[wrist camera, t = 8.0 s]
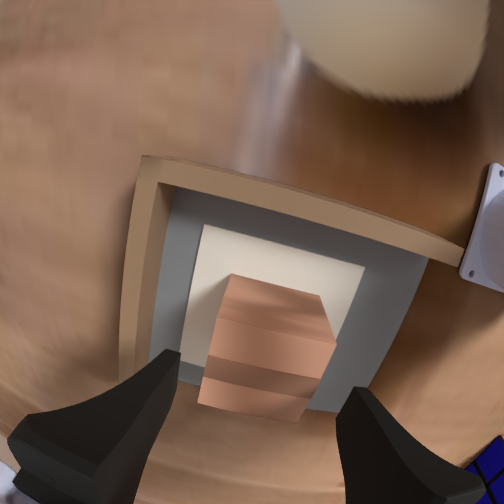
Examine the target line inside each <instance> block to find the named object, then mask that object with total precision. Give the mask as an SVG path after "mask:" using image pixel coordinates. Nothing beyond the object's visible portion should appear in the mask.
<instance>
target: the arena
mask: <svg viewBox="0 0 504 504" xmlns="http://www.w3.org/2000/svg"><path fill="white" fill-rule="evenodd" d="M463 252H464V249H463V248H461V247H459V246H457V245H455V244H453V243H451V242H449V241H447V240H445V239H443V238H441V237H439V236H437V235H435V234H433V233H431V232H428V231H426V230H423V229H420V228H418V227H415V226H412V225H410V224H407V223H404V222H401V221H399V220H396V219H393V218H390V217H387V216H384V215H381V214H378V213H376V212H373V211H370V210H367V209H364V208H361V207H358V206H354V205H351V204H348V203H345V202H342V201H339V200H336V199H332V198H329V197H326V196H323V195H319V194H316V193H312V192H309V191H306V190H302V189H299V188H295V187H292V186H288V185H285V184H281V183H277V182H274V181H270V180H266V179H262V178H259V177H255V176H251V175H247V174H243V173H239V172H235V171H231V170H227V169H223V168H218V167H214V166H210V165H205V164H201V163H196V162H192V161H187V160H183V159H178V158H173V157H168V156H149V155H142V158H141V162H140V167H139V172H138V177H137V182H136V188H135V193H134V199H133V205H132V211H131V217H130V224H129V231H128V238H127V246H126V254H125V263H124V272H123V283H122V295H121V309H120V327H119V363H118V380H119V384H120V383H122V382H123V381H125V380H127V379H128V378H130V377H131V376H133V375H134V374H135V373H137V372H138V371H139V370H141V369H142V368H143V367H145V366H146V365H147V364H148V363H150V362H151V361H152V360H153V359H154V358H155V357H157V356H158V355H159V354H160V353H161V352H162V351H163V350H165V349H170V350H173V351H177V352H180V353H181V358H180V366H179V373H178V381H182V382H185V383H189V384H192V385H196V386H200V387H201V384H202V379H203V375H204V370H205V366H206V361H207V357H208V353H209V349H210V344H211V340H212V336H213V332H214V327H215V323H216V319H217V315H218V312H219V309H220V306H221V303H222V300H223V297H224V294H225V291H226V288H227V285H228V282H229V279H230V276H231V273H232V274H236V275H240V276H244V277H248V278H251V279H255V280H259V281H263V282H267V283H271V284H275V285H279V286H283V287H287V288H291V289H295V290H299V291H303V292H307V293H311V294H316V295H319V296H320V299H321V301H322V304H323V307H324V310H325V312H326V315H327V318H328V321H329V324H330V326H331V329H332V332H333V335H334V338H335V341H336V344H337V345H336V348H335V350H334V352H333V354H332V356H331V358H330V361H329V363H328V365H327V367H326V369H325V371H324V373H323V375H322V377H321V381H320V383H319V385H318V387H317V389H316V391H315V393H314V395H313V397H312V399H310V401H309V403H308V405H307V406H306V408H305V409H311V410H319V411H327V412H335V413H339V412H340V410H341V408H342V407H343V405H344V403H345V401H346V400H347V398H348V396H349V394H350V392H351V391H352V389H353V387H354V386H357V387H366V388H368V386H369V384H370V383H371V381H372V379H373V377H374V376H375V374H376V372H377V370H378V369H379V367H380V365H381V363H382V361H383V359H384V358H385V356H386V354H387V352H388V350H389V348H390V346H391V344H392V342H393V340H394V338H395V336H396V334H397V332H398V330H399V328H400V326H401V324H402V322H403V320H404V318H405V315H406V313H407V311H408V309H409V307H410V304H411V302H412V300H413V297H414V295H415V293H416V290H417V288H418V286H419V283H420V281H421V278H422V276H423V273H424V271H425V268H426V265H427V263H428V260H429V258H432V259H435V260H438V261H441V262H443V263H446V264H449V265H452V266H455V267H458V266H459V263H460V260H461V258H462V255H463Z"/></svg>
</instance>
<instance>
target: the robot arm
mask: <svg viewBox="0 0 504 504" xmlns="http://www.w3.org/2000/svg"><path fill="white" fill-rule="evenodd" d="M499 172H501V175H499ZM470 271H472V272H471V274H470V275H469V273H470ZM459 275H460V277H462V278H463V279H465V280H468V281H471V282H474V283H477V284H480V285H483V286H486V287H488V288H491V289H494V290H497V291H500V292H503V293H504V167H503V166H501V165H500V164H498V163H492V164H491V165H490V167H489V172H488V176H487V181H486V185H485V189H484V193H483V197H482V201H481V205H480V208H479V212H478V215H477V219H476V222H475V225H474V229H473V232H472V235H471V238H470V241H469V244H468V247H467V250H466V253H465V255H464V258H463V261H462V264H461V266H460V269H459ZM180 358H181V353H180V352H177V351H173V350H170V349H165V350H163V351H162V352H161V353H160V354H159V355H158V356H157V357H155V358H154V359H153V360H152V361H151V362H150V363H148V364H147V365H146V366H145V367H143V368H142V369H141V370H139V371H138V372H137V373H135V374H134V375H133V376H131V377H130V378H128V379H127V380H125V381H123V382H122V383H120V384H119V385H117V386H115V387H114V388H112V389H110V390H108V391H106V392H104V393H102V394H100V395H98V396H96V397H94V398H91V399H89V400H87V401H84V402H82V403H79V404H76V405H73V406H69V407H66V408H62V409H58V410H54V411H49V412H42V413H36V414H28V415H27V416H26V417H25V418H24V419H23V420H22V421H21V422H20V423H19V424H18V426H17V427H16V428H15V429H14V431H13V432H12V433H11V435H10V436H9V437H8V439H7V443H8V446H9V448H10V450H11V452H12V454H13V455H14V457H15V459H16V460H17V462H18V463H19V465H20V467H21V469H20V470H19V472H18V473H16V471H14V470H13V469H12V468H11V467H10V466H9V465H7V464H6V463H4V462H3V461H2V460H0V504H133V503H134V499H135V496H136V492H137V489H138V486H139V482H140V479H141V476H142V473H143V470H144V467H145V464H146V461H147V458H148V455H149V453H150V450H151V448H152V446H153V444H154V442H155V439H156V437H157V435H158V433H159V431H160V429H161V427H162V425H163V423H164V421H165V418H166V416H167V414H168V412H169V410H170V407H171V404H172V401H173V398H174V395H175V392H176V389H177V382H178V373H179V366H180ZM336 436H337V443H338V449H339V454H340V459H341V464H342V470H343V475H344V481H345V494H346V504H475V503H477V502H478V501H479V500H480V499H481V498H482V497H483V496H484V494H485V492H486V488H485V485H484V483H483V481H482V479H481V477H480V476H479V475H476V474H474V473H471V472H468V471H466V470H463V469H461V468H459V467H457V466H455V465H453V464H451V463H449V462H447V461H445V460H444V459H442V458H440V457H439V456H437V455H436V454H434V453H433V452H431V451H430V450H429V449H427V448H426V447H425V446H423V445H422V444H421V443H420V442H418V441H417V440H416V439H415V438H414V437H413V436H411V435H410V434H409V433H408V432H407V431H406V430H405V429H404V428H403V427H402V426H401V425H400V424H399V423H398V422H397V421H396V420H395V418H394V417H393V416H392V415H391V414H390V413H389V412H388V411H387V410H386V408H385V407H384V406H383V405H382V404H381V403H380V402H379V400H378V399H377V398H376V397H375V396H374V395H373V394H372V393H371V392H370V391H369V390H368V389H367V388H366V387H357V386H354V387H353V389H352V391H351V392H350V394H349V396H348V398H347V400H346V401H345V403H344V405H343V407H342V408H341V410H340V412H339V414H338V415H337V417H336Z"/></svg>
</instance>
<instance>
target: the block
mask: <svg viewBox="0 0 504 504" xmlns="http://www.w3.org/2000/svg"><path fill="white" fill-rule="evenodd" d="M336 345H337V344H336V341H335V338H334V335H333V332H332V329H331V326H330V324H329V321H328V318H327V315H326V312H325V310H324V307H323V304H322V301H321V299H320V296H319V295H316V294H311V293H307V292H303V291H299V290H295V289H291V288H287V287H283V286H279V285H275V284H271V283H267V282H263V281H259V280H255V279H251V278H248V277H244V276H240V275H236V274H232V273H231V276H230V279H229V282H228V285H227V288H226V291H225V294H224V297H223V300H222V303H221V306H220V309H219V312H218V315H217V319H216V323H215V327H214V332H213V336H212V340H211V344H210V349H209V353H208V357H207V361H206V366H205V370H204V375H203V379H202V384H201V388H200V393H199V397H198V402H197V403H200V404H204V405H208V406H212V407H216V408H220V409H224V410H228V411H233V412H237V413H242V414H247V415H252V416H257V417H262V418H268V419H274V420H280V421H286V422H293V423H298V421H299V419H300V418H301V416H302V414H303V412H304V410H305V408H306V406H307V405H308V403H309V401H310V399H312V397H313V395H314V393H315V391H316V389H317V387H318V385H319V383H320V381H321V377H322V375H323V373H324V371H325V369H326V367H327V365H328V363H329V361H330V358H331V356H332V354H333V352H334V350H335V348H336Z"/></svg>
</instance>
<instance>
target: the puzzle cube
mask: <svg viewBox="0 0 504 504" xmlns="http://www.w3.org/2000/svg"><path fill="white" fill-rule="evenodd" d="M464 470H466V471H468V472H471V473H474V474H476V475H479V476H480V477H481V479H482V481H483V483H484V485H485V488H486V492H485V494H484V496H483V497H482V498H481V499H480V500H479V501H478V502H477V503H475V504H504V435H499V436H498V437H497V438H496V439H495V440H494V441H493V442H492V443H491V444H490V445H489V446H488V447H487V448H486V449H485V450H484V451H483V452H482V453H481V454H480V455H479V456H478V457H477V458H476V461H473V462H472V463H471V464H470V465H469V466H468V467H467V468H466V469H464Z"/></svg>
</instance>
